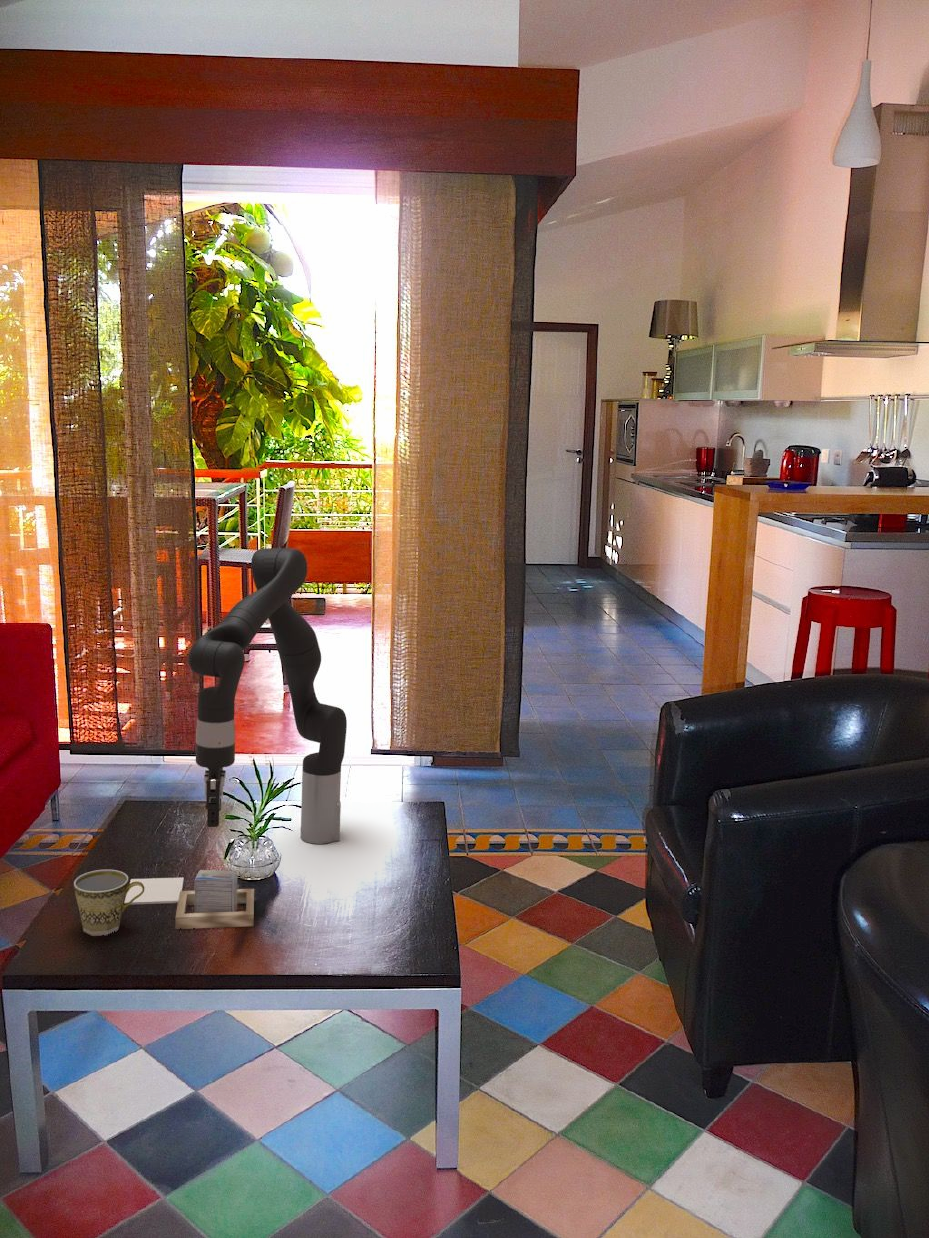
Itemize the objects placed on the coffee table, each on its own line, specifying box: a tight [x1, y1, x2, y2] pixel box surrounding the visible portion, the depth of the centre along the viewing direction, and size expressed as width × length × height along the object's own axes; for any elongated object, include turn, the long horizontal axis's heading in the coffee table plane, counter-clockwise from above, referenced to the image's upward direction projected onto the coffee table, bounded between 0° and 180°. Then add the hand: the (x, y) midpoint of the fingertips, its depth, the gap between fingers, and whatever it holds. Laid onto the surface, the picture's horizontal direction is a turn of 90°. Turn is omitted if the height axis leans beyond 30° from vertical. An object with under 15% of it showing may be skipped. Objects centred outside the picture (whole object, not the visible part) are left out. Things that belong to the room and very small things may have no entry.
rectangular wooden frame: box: [174, 888, 255, 930], centre depth 206 cm, size 15×12×2 cm
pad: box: [124, 876, 185, 906], centre depth 214 cm, size 11×11×1 cm
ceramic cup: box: [73, 869, 144, 937], centre depth 197 cm, size 13×10×10 cm
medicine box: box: [193, 869, 238, 913], centre depth 205 cm, size 8×4×9 cm, turn 92°
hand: (214, 818), depth 203 cm, fingers open, 8 cm apart
